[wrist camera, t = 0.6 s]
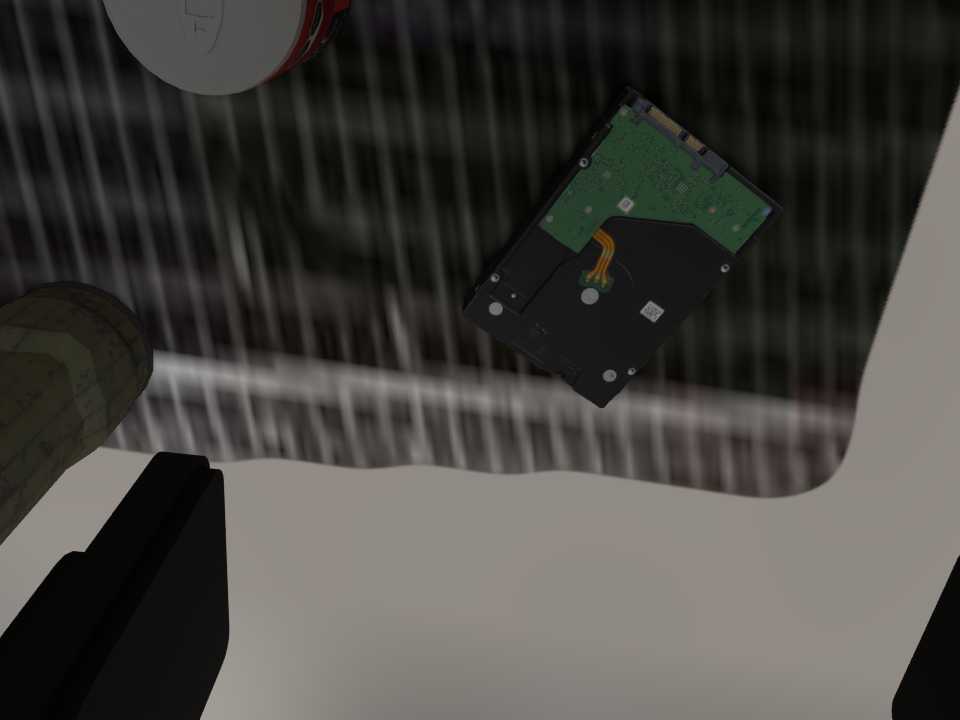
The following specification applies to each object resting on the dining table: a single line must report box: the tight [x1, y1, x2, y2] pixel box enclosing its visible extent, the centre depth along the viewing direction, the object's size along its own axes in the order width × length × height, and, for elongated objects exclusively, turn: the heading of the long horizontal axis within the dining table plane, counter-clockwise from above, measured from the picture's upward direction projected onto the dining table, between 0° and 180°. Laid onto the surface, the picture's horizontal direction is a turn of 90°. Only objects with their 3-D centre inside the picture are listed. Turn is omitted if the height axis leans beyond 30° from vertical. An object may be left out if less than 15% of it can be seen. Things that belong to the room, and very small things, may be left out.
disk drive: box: [462, 86, 783, 408], centre depth 44 cm, size 10×3×15 cm
